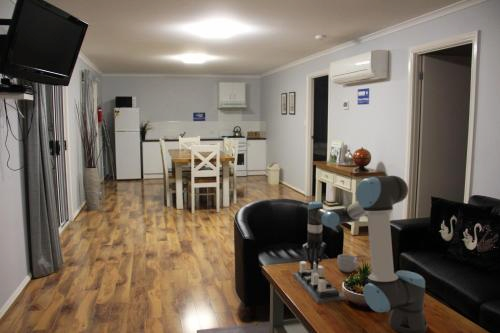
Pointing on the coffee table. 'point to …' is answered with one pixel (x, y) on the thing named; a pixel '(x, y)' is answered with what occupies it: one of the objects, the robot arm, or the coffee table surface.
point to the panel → (313, 293)
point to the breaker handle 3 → (320, 271)
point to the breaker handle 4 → (321, 285)
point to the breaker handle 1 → (303, 266)
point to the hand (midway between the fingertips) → (313, 274)
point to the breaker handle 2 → (314, 278)
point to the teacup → (347, 262)
